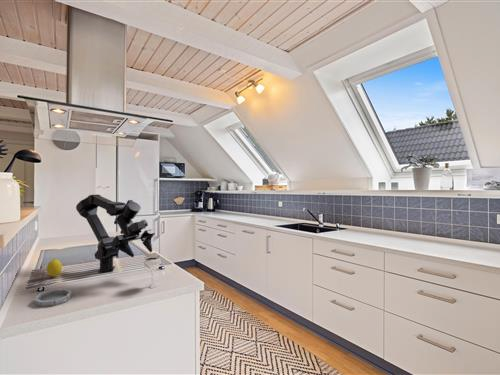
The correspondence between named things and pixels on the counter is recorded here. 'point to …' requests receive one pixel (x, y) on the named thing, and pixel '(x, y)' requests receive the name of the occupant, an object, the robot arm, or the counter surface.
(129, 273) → the counter surface
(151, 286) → the wineglass
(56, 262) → the lemon
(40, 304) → the holder
